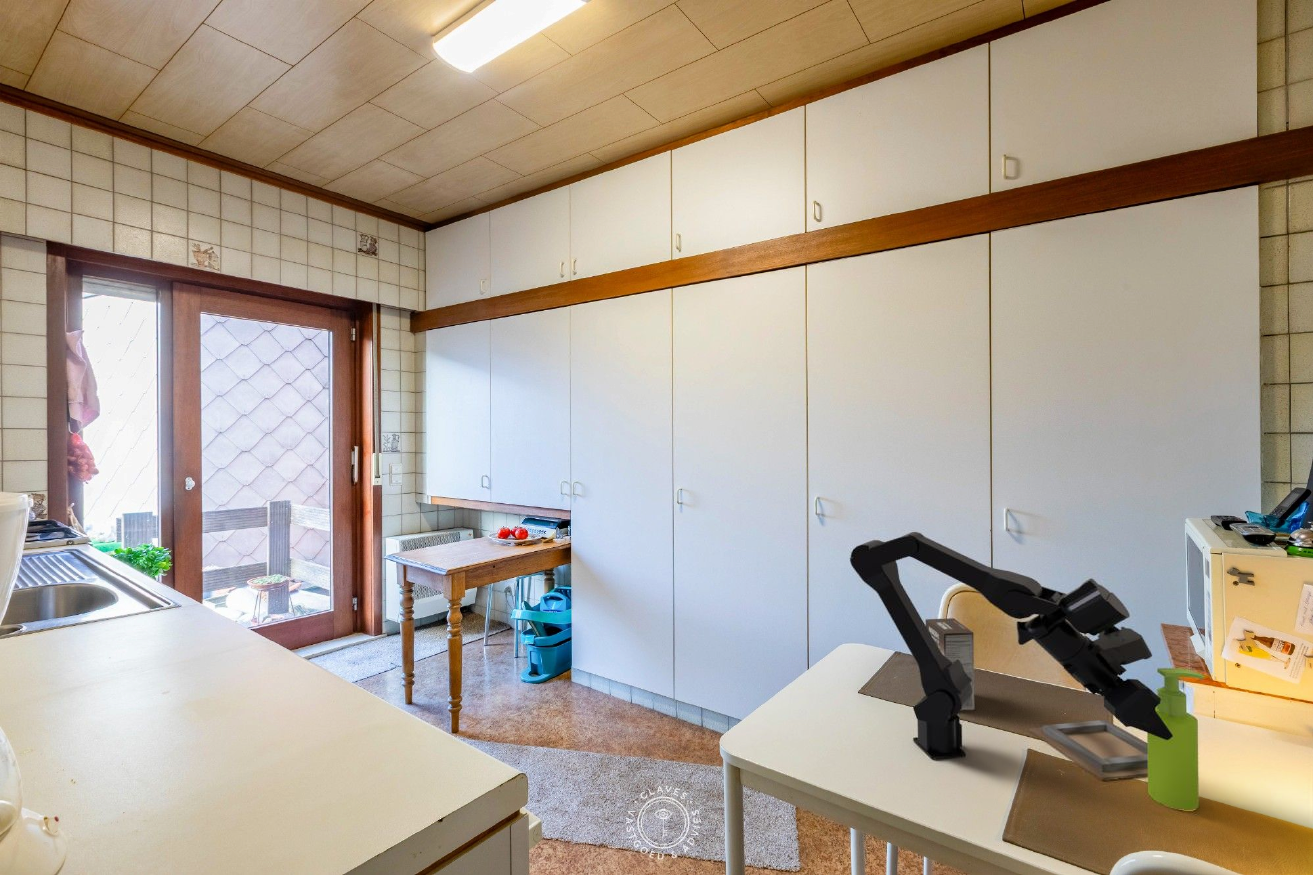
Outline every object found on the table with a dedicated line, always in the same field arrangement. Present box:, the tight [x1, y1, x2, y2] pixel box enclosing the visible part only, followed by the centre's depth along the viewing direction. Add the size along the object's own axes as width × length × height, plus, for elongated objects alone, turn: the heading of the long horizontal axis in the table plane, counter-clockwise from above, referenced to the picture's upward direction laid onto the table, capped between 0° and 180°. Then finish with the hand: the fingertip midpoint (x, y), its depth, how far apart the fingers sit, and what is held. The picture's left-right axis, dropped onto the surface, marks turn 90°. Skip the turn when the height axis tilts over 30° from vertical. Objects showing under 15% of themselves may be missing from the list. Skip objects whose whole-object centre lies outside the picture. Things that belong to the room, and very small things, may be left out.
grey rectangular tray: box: [1028, 719, 1148, 781], centre depth 106 cm, size 16×16×2 cm
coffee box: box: [925, 617, 975, 711], centre depth 126 cm, size 9×6×16 cm
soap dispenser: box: [1146, 667, 1206, 810], centre depth 91 cm, size 6×7×20 cm
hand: (1152, 722), depth 92 cm, fingers open, 9 cm apart
